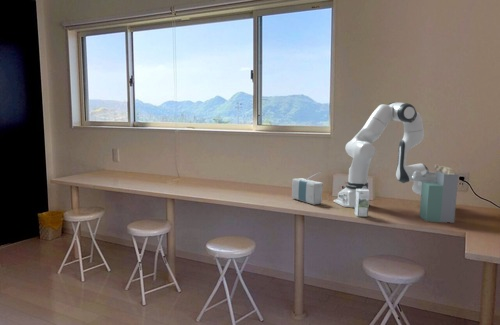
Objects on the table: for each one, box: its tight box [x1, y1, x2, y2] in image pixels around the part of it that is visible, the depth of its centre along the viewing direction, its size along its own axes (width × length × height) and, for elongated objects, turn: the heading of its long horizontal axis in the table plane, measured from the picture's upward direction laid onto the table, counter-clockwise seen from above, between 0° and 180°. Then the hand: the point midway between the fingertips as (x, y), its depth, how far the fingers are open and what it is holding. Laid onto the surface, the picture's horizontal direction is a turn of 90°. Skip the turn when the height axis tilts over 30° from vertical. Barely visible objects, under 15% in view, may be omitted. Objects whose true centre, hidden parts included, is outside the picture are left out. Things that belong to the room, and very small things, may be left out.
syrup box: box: [353, 188, 370, 218], centre depth 216 cm, size 6×6×14 cm
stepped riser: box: [419, 170, 459, 224], centre depth 210 cm, size 10×14×25 cm
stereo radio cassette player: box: [291, 171, 324, 206], centre depth 247 cm, size 21×8×20 cm, turn 33°
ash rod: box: [434, 164, 456, 175], centre depth 212 cm, size 19×3×3 cm, turn 176°
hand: (436, 171), depth 223 cm, fingers open, 8 cm apart
